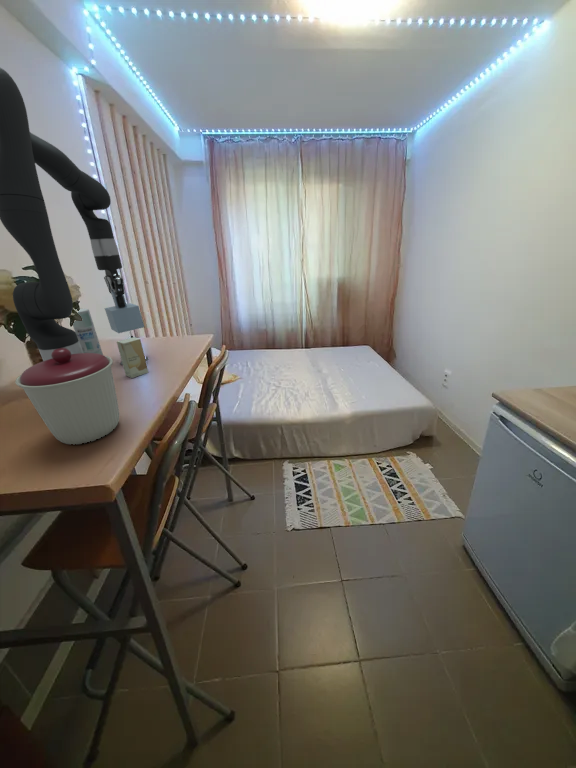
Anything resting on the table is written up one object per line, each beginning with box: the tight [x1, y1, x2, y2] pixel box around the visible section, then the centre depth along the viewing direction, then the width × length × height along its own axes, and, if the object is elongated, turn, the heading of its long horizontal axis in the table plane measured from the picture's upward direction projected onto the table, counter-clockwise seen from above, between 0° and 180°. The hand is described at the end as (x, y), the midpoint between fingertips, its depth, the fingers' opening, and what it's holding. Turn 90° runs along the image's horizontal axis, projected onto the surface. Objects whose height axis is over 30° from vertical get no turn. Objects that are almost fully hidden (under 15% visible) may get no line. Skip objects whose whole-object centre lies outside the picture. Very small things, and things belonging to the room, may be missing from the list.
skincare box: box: [116, 336, 149, 379], centre depth 106 cm, size 6×4×12 cm
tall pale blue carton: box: [72, 308, 104, 355], centre depth 118 cm, size 6×6×20 cm
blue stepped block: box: [104, 290, 145, 334], centre depth 113 cm, size 9×9×13 cm
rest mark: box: [120, 355, 149, 366], centre depth 121 cm, size 10×10×1 cm
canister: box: [14, 348, 120, 445], centre depth 72 cm, size 18×18×21 cm
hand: (120, 306), depth 112 cm, fingers closed on blue stepped block, 3 cm apart
